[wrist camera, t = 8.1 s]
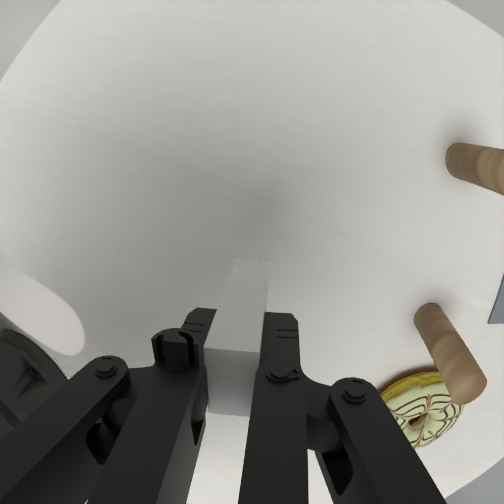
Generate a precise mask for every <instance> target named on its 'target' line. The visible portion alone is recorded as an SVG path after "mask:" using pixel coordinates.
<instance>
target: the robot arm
mask: <svg viewBox="0 0 504 504" xmlns="http://www.w3.org/2000/svg"><path fill="white" fill-rule="evenodd" d="M268 273H269V260H262V259H245V258H235V261H234V264H233V266H232V269H231V272H230V275H229V277H228V280H227V283H226V286H225V288H224V291H223V294H222V297H221V300H220V302H219V305H218V308H217V309H207V308H196V309H194V310H193V311H192V312H190V313H189V314H188V315H187V317H186V319H185V321H184V324H183V325H182V327H181V328H171V329H166V330H162V331H160V332H158V333H156V334H155V335H154V336H153V337H152V338H151V340H152V346H153V352H154V358H155V363H154V365H153V366H150V367H144V368H128V367H127V364H126V363H125V361H124V360H122V359H121V358H119V357H116V356H101V357H98V358H95V359H94V360H92V361H90V362H89V363H88V364H87V365H86V366H84V367H83V368H82V369H81V370H80V371H79V372H77V373H76V374H75V375H74V376H73V377H72V378H70V379H69V380H68V381H67V380H66V379H65V377H64V376H63V374H62V373H61V372H60V370H59V369H58V368H57V366H56V365H55V364H54V363H53V362H52V361H51V360H50V358H49V357H48V356H47V355H46V354H45V353H44V352H43V351H42V350H40V349H39V348H38V347H37V346H36V345H35V344H33V343H32V342H31V341H29V340H28V339H27V338H25V337H24V336H22V335H20V334H18V333H16V332H13V331H9V330H3V331H1V332H0V504H84V503H85V502H86V501H87V500H88V502H87V504H186V501H187V497H188V493H189V489H190V485H191V481H192V477H193V473H194V469H195V465H196V461H197V457H198V453H199V450H200V446H201V442H202V438H203V434H204V430H205V426H206V419H205V412H206V408H207V405H208V412H209V413H217V414H226V415H235V416H246V417H250V420H249V427H248V435H247V442H246V449H245V457H244V464H243V471H242V478H241V485H240V492H239V499H238V504H309V503H308V453H307V449H310V450H314V451H315V455H316V458H317V460H318V463H319V466H320V468H321V471H322V474H323V477H324V479H325V482H326V485H327V487H328V490H329V493H330V495H331V498H332V501H333V503H334V504H447V503H446V502H445V500H444V498H443V496H442V495H441V493H440V491H439V489H438V488H437V486H436V484H435V483H434V481H433V479H432V478H431V476H430V474H429V473H428V471H427V469H426V468H425V466H424V465H423V463H422V461H421V460H420V458H419V456H418V455H417V453H416V451H415V450H414V448H413V447H412V445H411V443H410V442H409V440H408V438H407V437H406V435H405V434H404V432H403V430H402V429H401V427H400V426H399V424H398V422H397V421H396V419H395V418H394V416H393V414H392V413H391V411H390V410H389V408H388V407H387V405H386V403H385V402H384V400H383V399H382V397H381V396H380V394H379V392H378V391H377V389H376V388H375V387H374V386H373V385H372V384H371V383H369V382H367V381H365V380H364V379H359V378H355V377H351V378H343V379H340V380H338V381H337V382H335V383H334V384H333V385H332V386H328V385H324V384H320V383H318V382H315V381H313V380H311V379H309V378H308V377H307V376H306V375H305V374H304V373H303V371H302V369H301V365H300V348H299V332H298V321H297V320H296V318H295V317H294V316H293V315H292V314H291V313H273V312H266V308H267V290H268Z"/></svg>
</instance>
